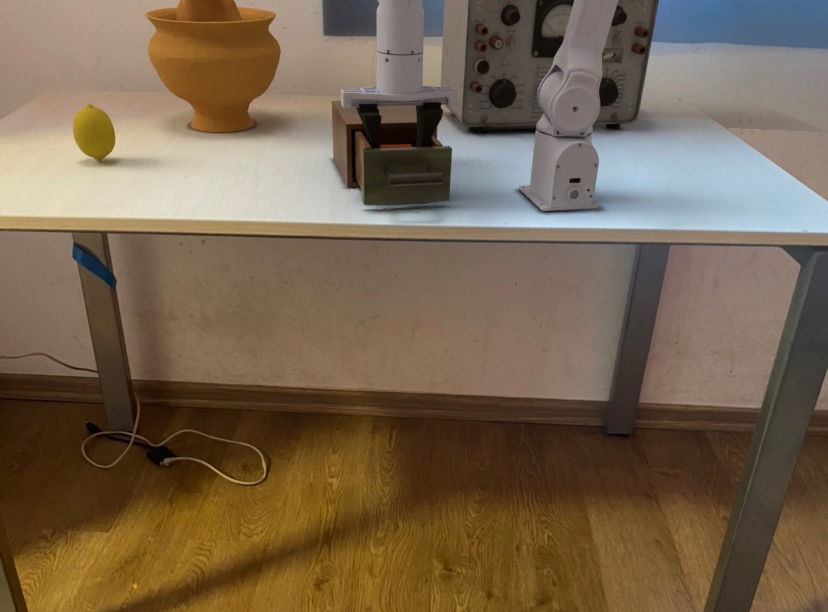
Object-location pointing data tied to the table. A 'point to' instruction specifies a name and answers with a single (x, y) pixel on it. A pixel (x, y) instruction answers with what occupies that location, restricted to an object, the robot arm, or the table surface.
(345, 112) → the cabinet
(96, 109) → the lemon
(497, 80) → the vintage electronic device
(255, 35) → the mortar and pestle
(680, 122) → the table surface
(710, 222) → the table surface
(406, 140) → the drawer
